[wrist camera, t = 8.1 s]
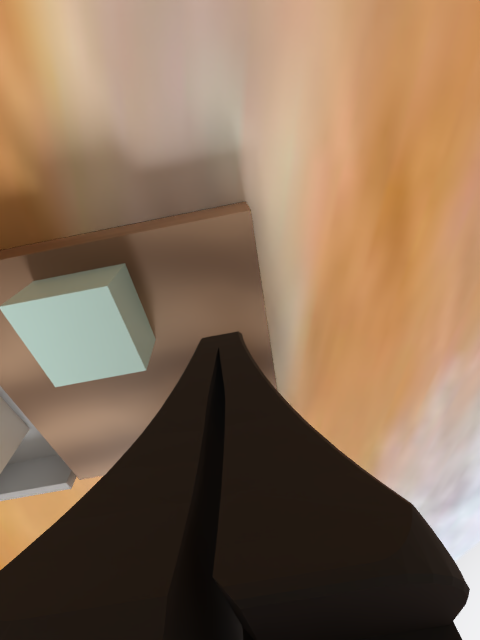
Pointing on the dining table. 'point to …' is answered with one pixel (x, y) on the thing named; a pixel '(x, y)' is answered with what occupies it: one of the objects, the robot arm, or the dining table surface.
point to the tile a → (10, 433)
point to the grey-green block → (83, 325)
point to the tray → (33, 464)
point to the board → (162, 313)
